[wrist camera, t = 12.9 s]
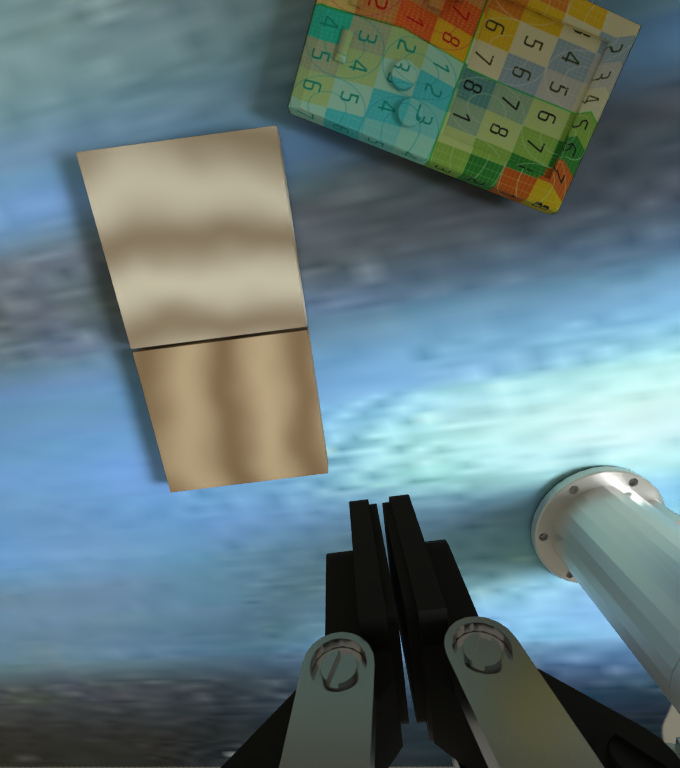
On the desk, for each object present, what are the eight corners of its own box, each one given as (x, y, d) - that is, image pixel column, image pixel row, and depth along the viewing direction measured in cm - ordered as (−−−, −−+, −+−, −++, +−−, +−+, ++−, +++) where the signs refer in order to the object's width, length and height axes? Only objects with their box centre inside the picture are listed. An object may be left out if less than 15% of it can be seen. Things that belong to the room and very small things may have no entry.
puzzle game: (346, -125, 23) (652, 17, 26) (343, -63, 28) (604, 54, 30) (286, 101, 26) (564, 211, 29) (292, 124, 31) (532, 218, 33)
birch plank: (307, 322, 35) (306, 326, 33) (141, 343, 35) (131, 348, 33) (279, 133, 31) (276, 125, 29) (91, 158, 31) (75, 152, 29)
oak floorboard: (308, 326, 35) (306, 330, 33) (328, 462, 38) (327, 472, 37) (143, 347, 35) (132, 352, 33) (178, 480, 39) (170, 492, 37)
